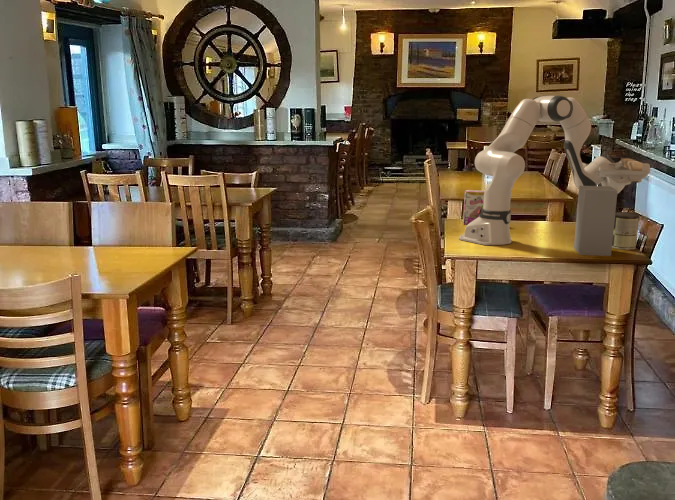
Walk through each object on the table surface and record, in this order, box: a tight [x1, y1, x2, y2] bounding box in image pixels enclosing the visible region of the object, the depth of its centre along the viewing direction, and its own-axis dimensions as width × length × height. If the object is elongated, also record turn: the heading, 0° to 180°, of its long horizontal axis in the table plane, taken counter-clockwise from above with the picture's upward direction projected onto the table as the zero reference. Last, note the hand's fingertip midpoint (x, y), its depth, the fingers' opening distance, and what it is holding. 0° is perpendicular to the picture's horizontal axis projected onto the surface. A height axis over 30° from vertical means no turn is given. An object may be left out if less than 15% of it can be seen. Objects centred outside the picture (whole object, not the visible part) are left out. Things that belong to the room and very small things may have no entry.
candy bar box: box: [462, 189, 485, 226], centre depth 325 cm, size 11×5×16 cm, turn 84°
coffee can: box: [612, 211, 640, 251], centre depth 278 cm, size 10×10×14 cm
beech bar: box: [620, 157, 644, 171], centre depth 272 cm, size 19×4×3 cm, turn 171°
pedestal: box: [573, 185, 618, 257], centre depth 268 cm, size 12×12×26 cm
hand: (628, 162), depth 276 cm, fingers closed on beech bar, 3 cm apart
